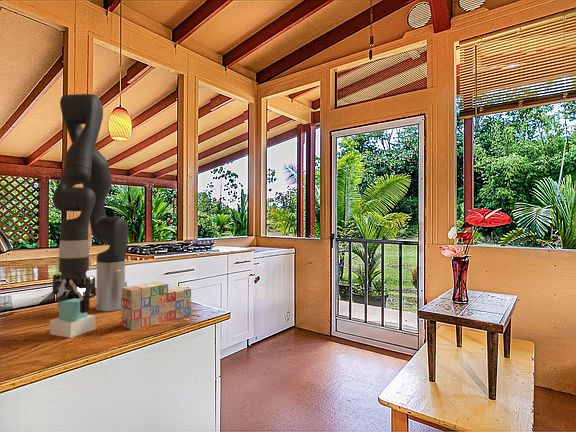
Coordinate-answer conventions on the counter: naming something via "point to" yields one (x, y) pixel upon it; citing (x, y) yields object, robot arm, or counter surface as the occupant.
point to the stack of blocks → (153, 304)
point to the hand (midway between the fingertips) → (73, 310)
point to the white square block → (72, 326)
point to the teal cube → (70, 310)
